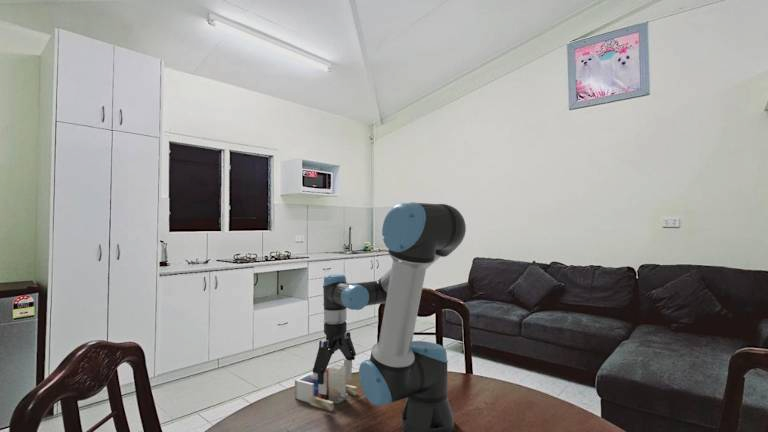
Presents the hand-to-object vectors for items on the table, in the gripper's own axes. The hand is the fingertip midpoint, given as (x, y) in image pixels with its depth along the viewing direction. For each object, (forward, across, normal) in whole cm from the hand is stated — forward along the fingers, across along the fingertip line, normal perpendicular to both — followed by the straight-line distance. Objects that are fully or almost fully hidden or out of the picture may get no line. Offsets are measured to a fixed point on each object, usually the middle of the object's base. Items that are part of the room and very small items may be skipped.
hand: (335, 386), depth 128 cm
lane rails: (+4, 0, -1) cm, 5 cm away
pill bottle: (+5, 0, -8) cm, 9 cm away
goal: (+4, 0, -9) cm, 10 cm away
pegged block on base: (+4, 0, 0) cm, 5 cm away
